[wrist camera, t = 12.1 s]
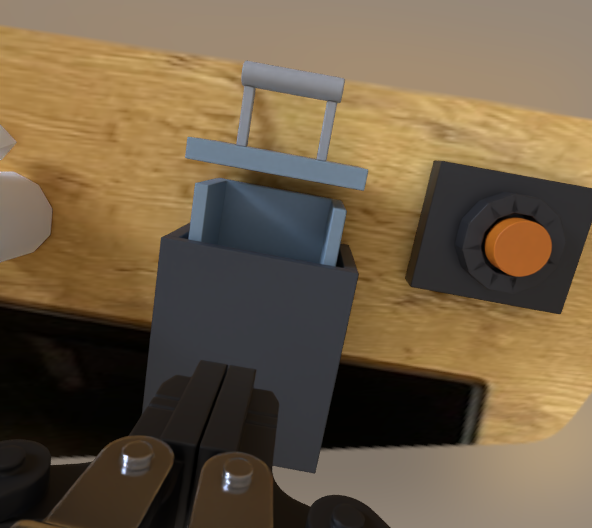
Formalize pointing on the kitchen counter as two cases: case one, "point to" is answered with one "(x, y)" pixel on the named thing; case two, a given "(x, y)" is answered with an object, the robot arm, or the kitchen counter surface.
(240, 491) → the robot arm
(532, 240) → the button
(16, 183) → the fire extinguisher
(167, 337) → the drawer housing
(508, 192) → the control block
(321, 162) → the drawer
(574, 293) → the kitchen counter surface
